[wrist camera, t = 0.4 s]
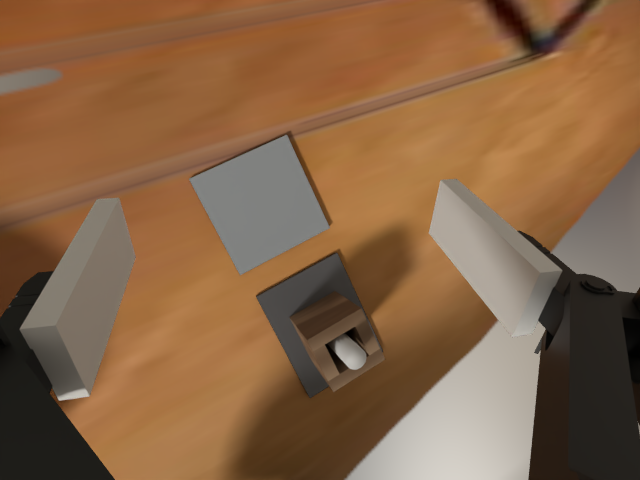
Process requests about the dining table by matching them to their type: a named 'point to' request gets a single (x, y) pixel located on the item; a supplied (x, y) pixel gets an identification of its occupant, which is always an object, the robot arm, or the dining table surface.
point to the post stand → (300, 295)
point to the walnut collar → (328, 324)
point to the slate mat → (260, 203)
